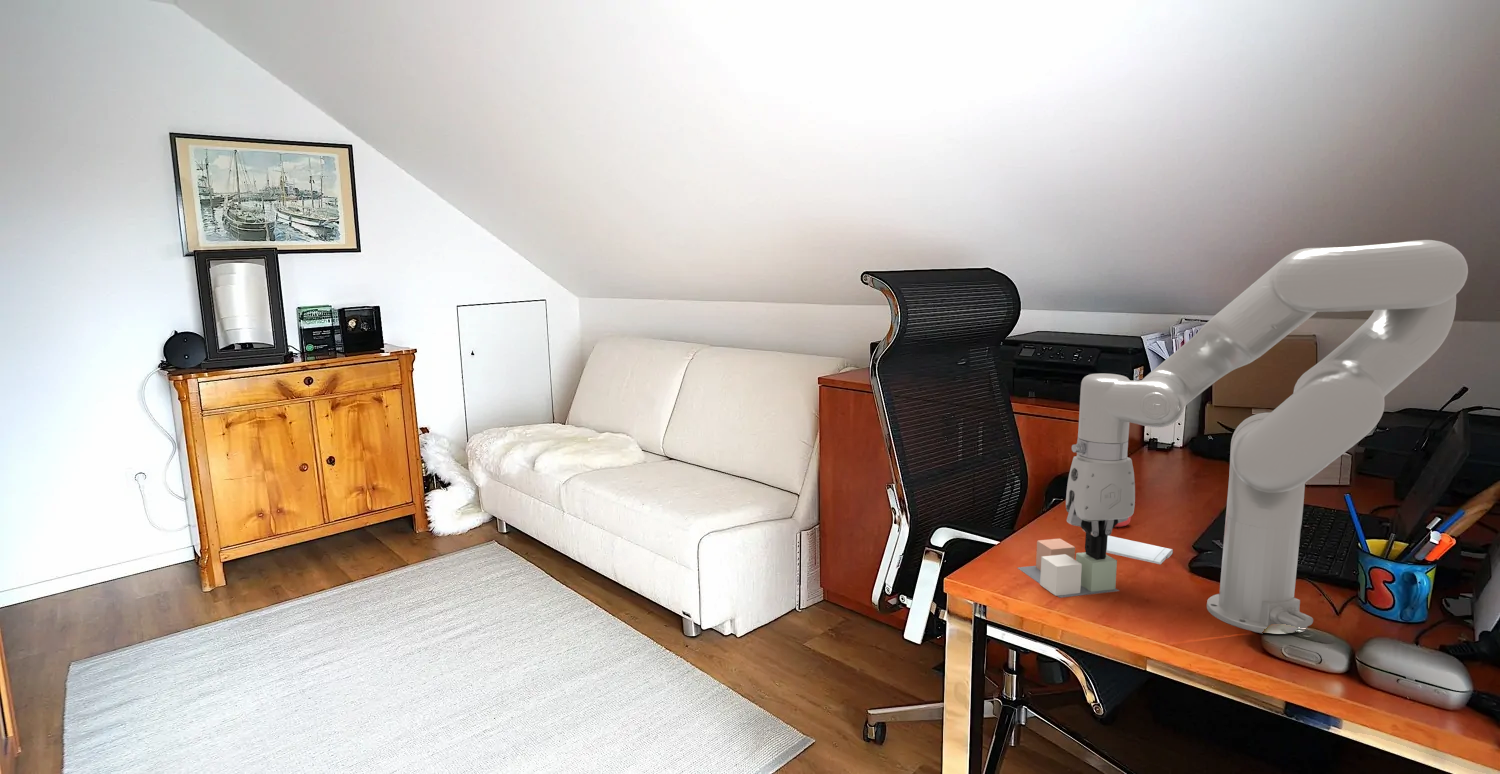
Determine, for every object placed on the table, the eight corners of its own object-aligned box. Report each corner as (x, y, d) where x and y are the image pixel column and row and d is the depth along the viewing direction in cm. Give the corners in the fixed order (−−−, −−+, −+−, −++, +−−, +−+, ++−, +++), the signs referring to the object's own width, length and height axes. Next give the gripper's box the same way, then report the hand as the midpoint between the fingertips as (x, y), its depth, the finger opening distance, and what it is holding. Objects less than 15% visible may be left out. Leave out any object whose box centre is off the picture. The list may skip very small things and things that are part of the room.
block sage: (1115, 589, 131) (1117, 560, 130) (1091, 591, 130) (1092, 562, 129) (1098, 578, 135) (1099, 550, 134) (1074, 581, 134) (1076, 553, 133)
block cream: (1080, 592, 129) (1081, 564, 129) (1055, 595, 128) (1056, 566, 128) (1064, 582, 134) (1065, 554, 133) (1040, 584, 133) (1041, 556, 132)
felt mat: (1119, 593, 130) (1119, 590, 130) (1059, 599, 128) (1059, 597, 128) (1072, 563, 143) (1072, 561, 143) (1017, 569, 140) (1017, 567, 140)
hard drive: (1089, 545, 149) (1160, 560, 141) (1103, 533, 155) (1173, 547, 147) (1088, 553, 149) (1160, 569, 141) (1103, 541, 155) (1172, 556, 147)
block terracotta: (1073, 574, 137) (1075, 547, 136) (1050, 577, 136) (1051, 549, 135) (1058, 565, 141) (1059, 538, 140) (1035, 567, 140) (1037, 540, 139)
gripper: (1074, 457, 124) (1068, 568, 127) (1158, 452, 127) (1150, 560, 130) (1047, 446, 131) (1042, 552, 134) (1127, 441, 134) (1120, 544, 137)
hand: (1095, 556), depth 132 cm, fingers closed
